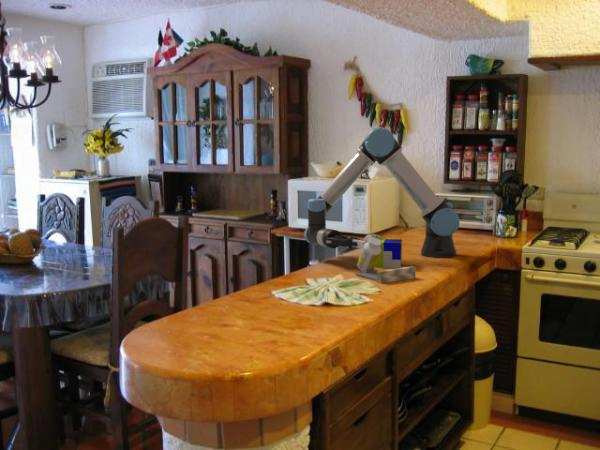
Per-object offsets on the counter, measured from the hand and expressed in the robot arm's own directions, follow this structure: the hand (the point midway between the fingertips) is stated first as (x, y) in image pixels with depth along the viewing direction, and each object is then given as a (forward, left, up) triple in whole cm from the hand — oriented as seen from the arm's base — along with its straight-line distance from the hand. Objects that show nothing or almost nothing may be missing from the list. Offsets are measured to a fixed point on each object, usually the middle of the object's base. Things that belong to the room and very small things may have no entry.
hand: (363, 245), depth 234 cm
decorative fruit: (-29, -31, -11) cm, 44 cm away
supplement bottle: (-1, 0, -9) cm, 9 cm away
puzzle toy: (-17, -6, -11) cm, 21 cm away
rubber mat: (-1, +10, -10) cm, 15 cm away
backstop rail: (-1, +18, -10) cm, 21 cm away
